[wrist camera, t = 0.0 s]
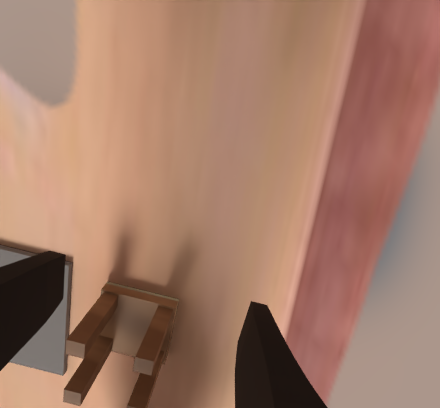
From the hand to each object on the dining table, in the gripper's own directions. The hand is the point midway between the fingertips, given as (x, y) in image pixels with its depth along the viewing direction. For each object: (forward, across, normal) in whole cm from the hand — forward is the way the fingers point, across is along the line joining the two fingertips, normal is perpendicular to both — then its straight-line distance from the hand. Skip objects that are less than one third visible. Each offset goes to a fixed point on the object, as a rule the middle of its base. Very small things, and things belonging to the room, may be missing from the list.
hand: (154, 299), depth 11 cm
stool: (+10, +3, +11) cm, 15 cm away
